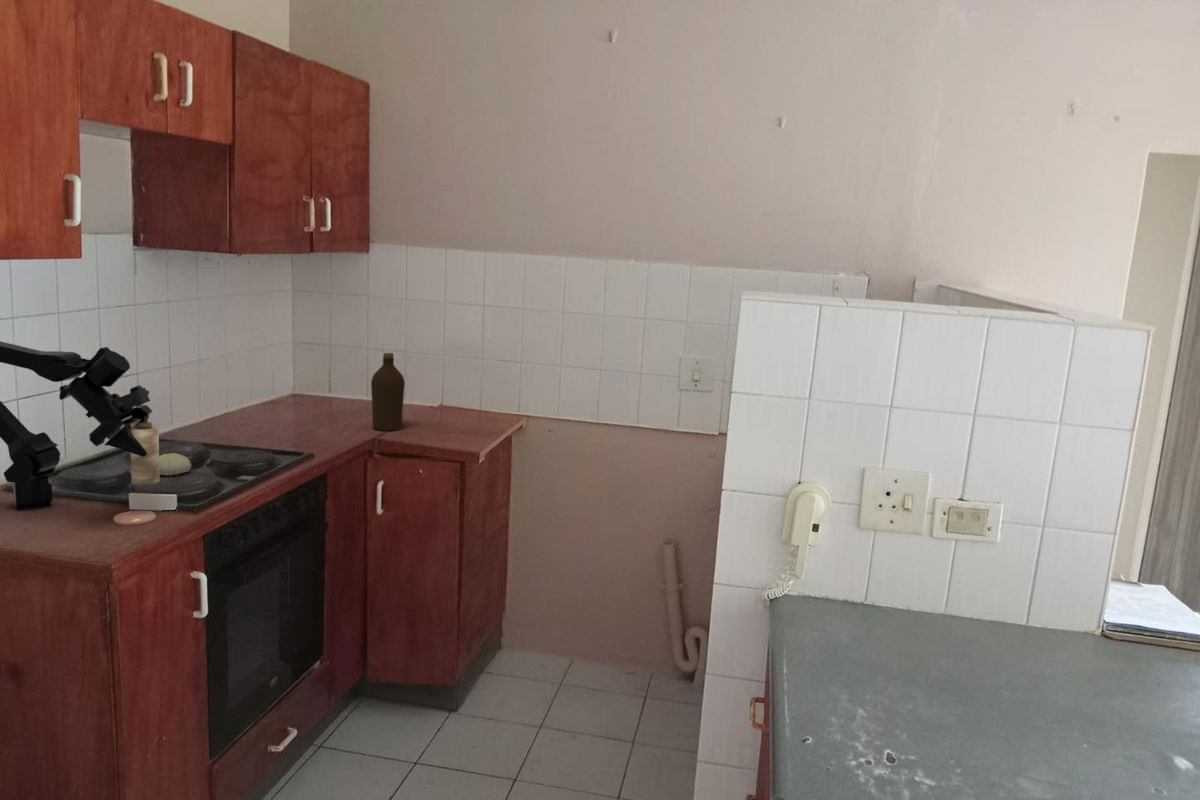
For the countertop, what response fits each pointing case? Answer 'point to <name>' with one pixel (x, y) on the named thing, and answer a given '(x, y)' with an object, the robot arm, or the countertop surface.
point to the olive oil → (387, 396)
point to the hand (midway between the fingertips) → (151, 452)
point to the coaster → (134, 517)
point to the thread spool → (148, 466)
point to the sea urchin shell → (173, 464)
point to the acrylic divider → (152, 501)
